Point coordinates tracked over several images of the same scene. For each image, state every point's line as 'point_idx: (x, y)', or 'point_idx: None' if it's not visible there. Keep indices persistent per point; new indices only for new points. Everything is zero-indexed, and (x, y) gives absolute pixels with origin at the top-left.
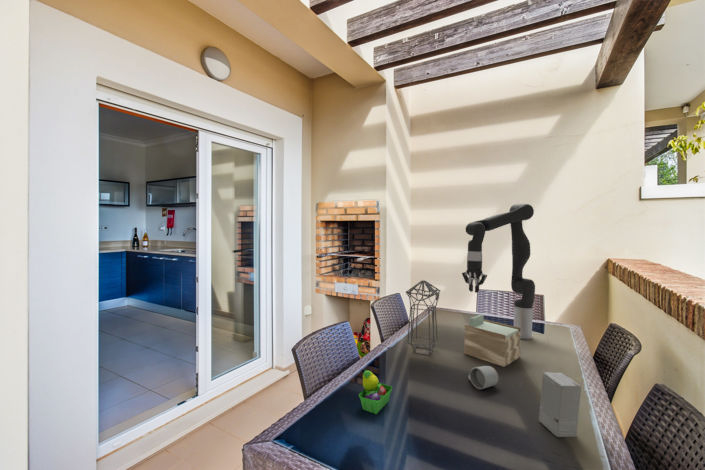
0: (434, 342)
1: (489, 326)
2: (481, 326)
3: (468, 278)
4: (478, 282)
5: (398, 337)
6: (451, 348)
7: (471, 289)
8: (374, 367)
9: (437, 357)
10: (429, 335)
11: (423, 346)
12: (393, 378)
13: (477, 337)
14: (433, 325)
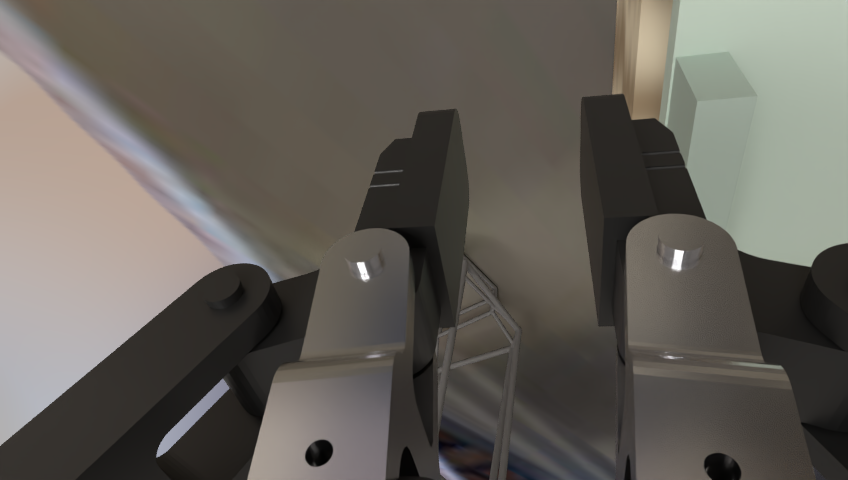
0: (519, 347)
1: (835, 121)
2: (756, 183)
3: (160, 407)
4: (705, 330)
5: (225, 249)
6: (504, 151)
7: (461, 204)
8: (460, 449)
9: (538, 288)
10: (506, 398)
11: (485, 356)
12: (552, 457)
13: None
14: (510, 433)
